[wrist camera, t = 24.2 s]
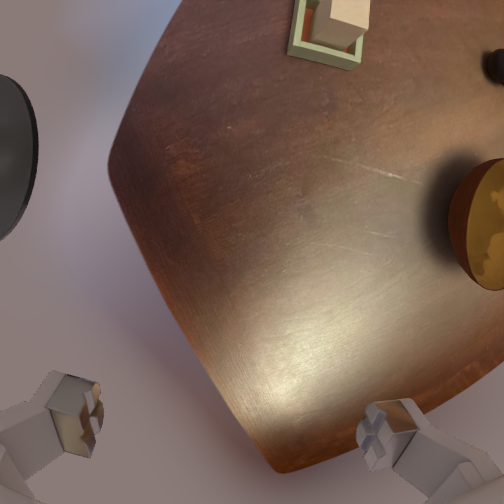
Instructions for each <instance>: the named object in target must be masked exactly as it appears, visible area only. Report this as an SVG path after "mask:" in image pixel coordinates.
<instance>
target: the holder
mask: <svg viewBox="0 0 504 504" xmlns="http://www.w3.org/2000/svg"><path fill="white" fill-rule="evenodd" d="M320 1H321V0H295V5H294V11H293V18H292V24H291V30H290V37H289V43H288V49H287V55H289V56H294V57H298V58H302V59H307V60H311V61H315V62H319V63H323V64H327V65H330V66H334V67H338V68H341V69H345V70H348V71H349V70H351V69H353V68H354V67H356V66H357V65H359V64H360V63H361V54H362V43H363V34H362V35H361V36H360V37H359V38H358V39H356V40H355V41H354V42H353V43H352V44H350V45H349V46H348V47H347V48H346V49H344V50H343V51H342V52H341V51H338V50H334V49H330V48H327V47H323V46H319V45H315V44H311V43H308V40H309V33H310V25H311V18H312V14H313V12H314V10H315V9H316V7H317V6H318V4H319V3H320Z"/></svg>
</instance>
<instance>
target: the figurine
mask: <svg viewBox="0 0 504 504" xmlns="http://www.w3.org/2000/svg"><path fill="white" fill-rule="evenodd" d="M487 69H488V72H489V74H490V75H491V77H492V78H494V79H495V80H496V81H498V82H499V83H500V84H503V85H504V49H497V50H495V51H494V52H492V53H491V54H490V56H489V58H488V61H487Z"/></svg>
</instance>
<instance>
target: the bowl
mask: <svg viewBox="0 0 504 504" xmlns="http://www.w3.org/2000/svg"><path fill="white" fill-rule="evenodd" d="M448 232H449V237H450V242H451V245H452V248H453V251H454V253H455V255H456V258H457V260H458V261H459V263H460V265H461V266H462V268H463V269H464V271H465V272H466V273H467V274H468V276H469V277H470V278H471V279H472V280H474V281H475V282H476V283H477V284H479V285H480V286H482V287H483V288H485V289H487V290H492V291H498V290H502V289H504V158H499V159H493V160H489V161H487V162H484V163H482V164H480V165H479V166H477V167H476V168H474V169H473V170H472V171H470V172H469V173H468V174H467V175H466V176H465V177H464V178H463V180H462V181H461V182H460V184H459V185H458V187H457V189H456V190H455V192H454V194H453V197H452V200H451V203H450V207H449V213H448Z"/></svg>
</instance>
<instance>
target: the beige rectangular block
mask: <svg viewBox="0 0 504 504" xmlns="http://www.w3.org/2000/svg"><path fill="white" fill-rule="evenodd" d="M369 10H370V0H321V1H320V3H319V4H318V6H317V7H316V9H315V10H314V12H313V14H312V18H311V25H310V33H309V40H308V43H311V44H315V45H319V46H323V47H327V48H330V49H334V50H338V51H341V52H342V51H343V50H344V49H346V48H347V47H348V46H349V45H350V44H352V43H353V42H354V41H355V40H356V39H358V38H359V37H360V36H361V35H362V34H364V33H365V32H366V31H367V30H368V26H369Z"/></svg>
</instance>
